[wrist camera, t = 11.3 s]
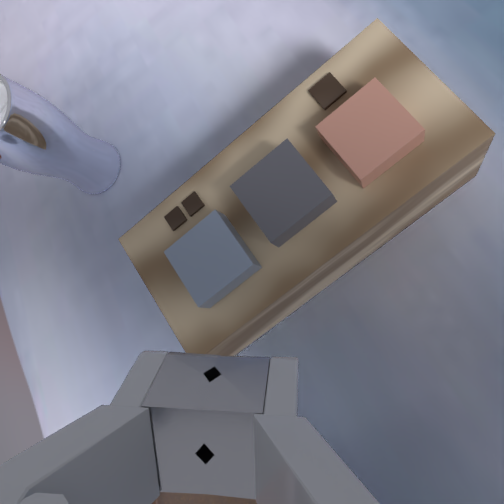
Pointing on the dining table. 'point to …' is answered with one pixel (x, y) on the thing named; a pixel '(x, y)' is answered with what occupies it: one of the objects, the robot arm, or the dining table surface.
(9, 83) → the beer glass
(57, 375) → the dining table surface
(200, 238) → the slate key
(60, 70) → the dining table surface
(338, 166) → the wooden key base
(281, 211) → the charcoal key
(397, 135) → the terracotta key
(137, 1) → the dining table surface
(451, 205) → the dining table surface
